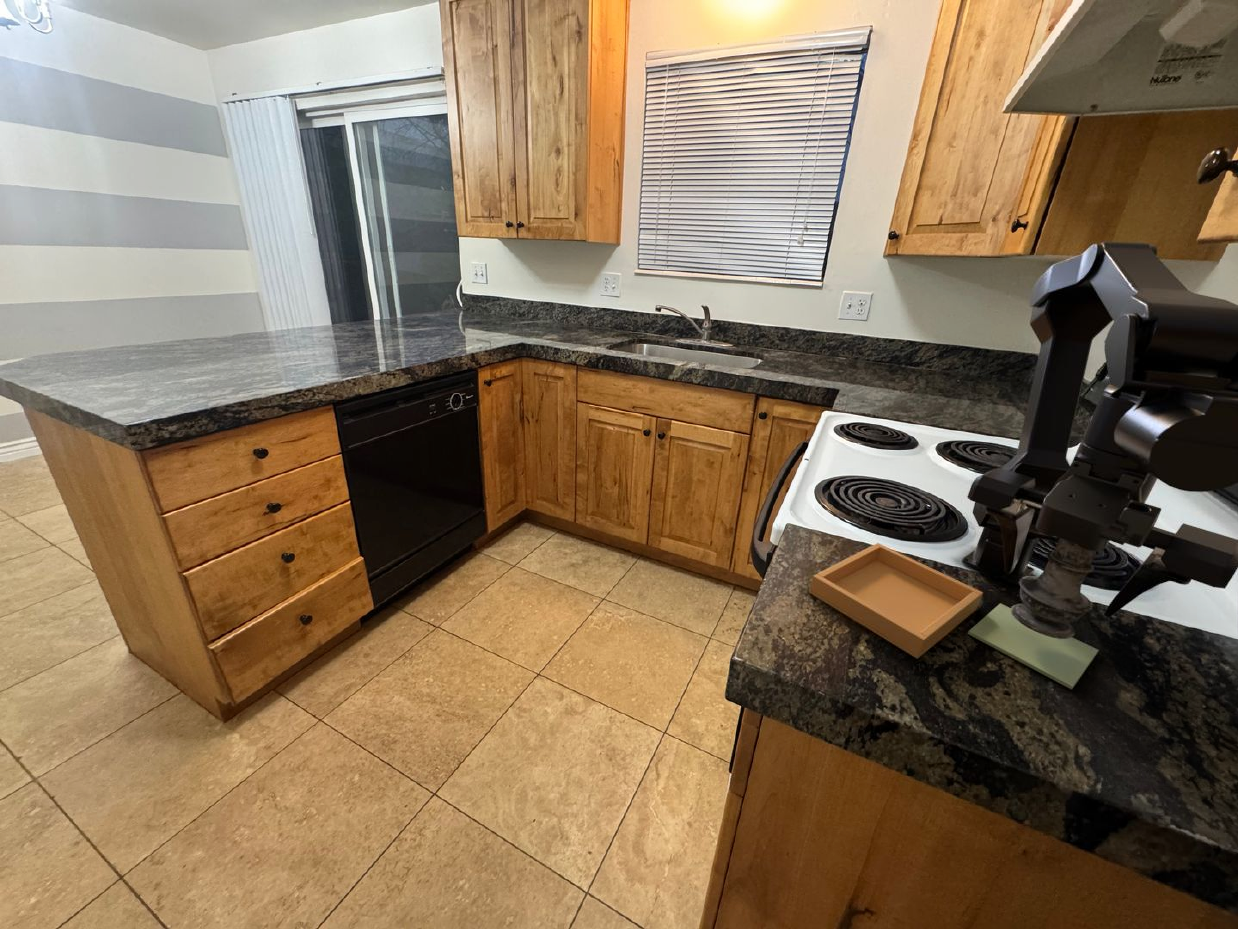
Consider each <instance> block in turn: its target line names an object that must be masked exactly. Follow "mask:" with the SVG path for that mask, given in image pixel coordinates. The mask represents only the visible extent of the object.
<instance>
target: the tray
mask: <svg viewBox="0 0 1238 929" xmlns="http://www.w3.org/2000/svg"><path fill="white" fill-rule="evenodd" d="M808 590H809V591H808V593H809V594H811V595H813V596H814V597H816V598H817V599H819V600H820V601H822V602H824V603H825V604H827V605H829V606H830V607H832V608H834V610H837V611H839V612H840V613H841V614H844V615H845V616H846V617H848V618H850V619H852V620H853V621H855V622H856V623H858V624H860V625H861V626H863V627H864V628H866V629H868V630H869V631H871V632H873V633H874V634H876V635H878V637H881V638H883V639H884V640H886V641H887V642H889V643H891V644H892V645H894V646H896V647H897V648H899V649H901V650H902V651H903V652H905V653H907V654H908V655H910V656H911V657H914V658H915V659H919V658H920V657H921V656H923V655H924V654H925V653H926V652H928V651H929V650H930V649H931V648H932V647H933V646H935V645H936V644H937V643H938V642H939V641H941V640H942V639H943V638H944V637H945V636H946V635H948V634H949V633H950V632H952V631H953V630H954V629H955V628H957V627H958V625H960V624H961V623H962V622H963V621H965V620H966V619H967V618H968V617H970V616H971V615H972V614H973V613H975V611H977V610H978V608H979V605H980V602H981V600H982V597H983V595H984V592H983V591H981V590H980V589H979V590H978V589H977V588H975V587H972V586H971V585H968V584H966V583H963V582H962V581H959V580H957V579H956V578H953V577H951V576H949V575H947V574H945V573H942V572H940V571H939V570H936V569H934V568H932V567H930V566H928V565H926V564H923V563H921V562H919V561H917V560H915V559H914V558H911V557H909V556H907V555H904V554H902V553H900V552H898V551H896V550H895V549H892V548H890V547H888V546H885V545H883V544H881V543H879V542H877V543H875V544H872V545H870V546H869V547H866V548H865V549H863V550H861V551H859V552H857V553H855V554H852V555H851V556H849V557H847V558H845V559H843V560H841V561H840V562H839V561H838V562H837V563H835V564H833V565H832V566H830V567H827V568H826V569H824V570H822V571H820V572H818V573H816V574H814V575H812V579H811V583H810V586H809V589H808Z"/></svg>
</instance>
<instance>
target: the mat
mask: <svg viewBox="0 0 1238 929" xmlns="http://www.w3.org/2000/svg"><path fill="white" fill-rule="evenodd" d="M1011 608H1012V607H1009V606H1008V605H1005V604H1003V603H999V604H998V605H997V606H995V607H994V608H993V609H992V610H991V611H990V612H988V614H986V615H985V616H984V617H983V618H982V619H980V620H979V621H978V622H977V623H976V624H975V625H974V626H973V627H971V628H970V629H969V630H968V631H967V635H969V636H971V637H973V638H975V639H976V640H978V641H980V642H981V643H984V644H986V645H988V646H989V647H991V648H993V649H995V650H997V651H998V652H1001V653H1002V654H1004V655H1006V656H1007V657H1010V658H1012V659H1014V660H1015V661H1018V663H1021V664H1023V665H1024V666H1027V667H1028V668H1030V669H1032V670H1034V671H1036V672H1037V673H1040V674H1042V675H1044V676H1045V677H1047V678H1049V679H1051V680H1053V681H1055V682H1057V683H1058V684H1060V685H1062V686H1064V687H1066V688H1067V689H1070V690H1073V688H1074V687H1075V685H1076V684H1077V683H1078V682H1079V680H1080V678H1082V676H1083V674H1085V671H1086V670H1087V668H1088V667H1089V666H1090V664H1091V663H1092V661H1093V660H1094V658H1095V657H1096V656H1097V654H1098V653H1099V649H1097V648H1095V647H1093V646H1091V645H1089V644H1087V643H1085V642H1083V641H1080V640H1079V639H1076V638H1075V637H1072V638H1068V639H1059V638H1053V637H1049V636H1046V635H1043V634H1040V633H1038V632H1035V631H1033V630H1031V629H1029V628H1028V627H1026V626H1024V625H1023V624H1021V623H1020V622H1019V621H1018V620H1016V619H1015V617H1014V616H1013V615H1012V613H1011Z"/></svg>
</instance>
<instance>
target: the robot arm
mask: <svg viewBox="0 0 1238 929" xmlns="http://www.w3.org/2000/svg"><path fill="white" fill-rule="evenodd" d="M1157 255H1158V248H1157V246H1156V245H1150V243H1149V242H1141V241H1140V242H1139V241H1137V242H1136V241H1134V242H1133V241H1112V240H1111V241H1110V240H1109V241H1107V240H1104V241H1102V242H1100V243H1093V244H1091V245H1090V246H1089V247H1088V248H1087V249H1086V250H1085V251H1084V252H1082V253H1081V254H1078V255H1074V256H1073V257H1069V258H1067V259H1065V260H1061V261H1058V262H1056V263H1054V264H1052V265H1051V266H1050V267H1049V268H1047V270H1045V272H1044V273H1043V274H1042V275H1041V276H1040V277H1039V278H1038V279H1037V281H1036V282H1035V283H1034V286H1033V287H1032V290H1031V293H1030V297H1029V302H1028V304H1029V307H1030V308H1032V309H1031V315H1030V319H1029V326H1030V328H1031V329H1032V331H1033V332H1034V334H1035V336H1036V338H1037V340H1038V341H1039V343H1040V348H1039V352H1038V357H1037V363H1036V366H1035V371H1034V375H1033V380H1032V383H1031V388H1030V393H1029V397H1028V402H1027V405H1026V406H1027V407H1026V411H1025V416H1024V419H1023V424H1022V429H1021V433H1020V436H1019V437H1020V438H1019V442H1018V445H1017V446H1018V447H1017V451H1016V454H1015V455H1014V456H1013V457H1012V458H1011V459H1010V460H1009V461H1008V462H1007V463H1006V464H1004V465H1003V466H1002V467H996V468H994V469H991V470H989V471H987V472H985V473H982V474H981V475H979V476H977V477H975V478H974V480H973V481H972V482H971V486H970V488H969V491H968V493H967V496H966V497H967V499H969V501H971V502H974V505H973V508H972V515H973V517H974V519H975V521H976V523H977V526H978V527H980V528H983V529H982V531H981V534H980V536H979V539H978V541H977V544H976V547H975V549H974V550H972V552H970V553H968V554H967V555H965V556H964V557H962V559H961V563H962V564H964V565H966V566H969V567H970V568H973V569H975V570H977V571H980V572H982V573H984V574H986V575H989V576H990V577H993V578H996V579H997V580H1000V581H1002V582H1004V583H1007V584H1009V585H1012V586H1015V587H1018V586H1020V584H1019V581H1020V579H1021V578H1023V577H1026V576H1032V574H1033V573H1034V571H1035V568H1034V567H1032V566H1030V565H1029V563H1030V561H1031V559H1032V557H1033V554H1034V552H1035V549H1036V548H1037V545H1038V543H1039V540H1043V541H1048V542H1051V543H1054V544H1058V542H1059V539H1060V538H1061V539H1064V540H1067V541H1069V542H1072V543H1075V544H1077V545H1078V546H1079V547H1081V548H1083V549H1086V550H1090V551H1097V552H1100V551H1103V550H1105V549H1106V548H1107V546H1108V544H1109V543H1110V542H1112V543H1116V544H1119V545H1122V546H1124V545H1125V544H1126V545H1129V546H1133V547H1136V548H1138V549H1139V548H1142V547H1144V548H1147V549H1151V550H1152V551H1151V552H1150V553H1149V555H1148V556H1147V557H1146V559H1145V560H1144V561H1143V562H1142V563H1141V565H1140V566H1139V567H1138V568H1137V569H1136V571H1135V572H1134V573H1133V574H1132V576H1131V577H1130V578H1129V579H1128V580H1127V581H1126V582H1125V584H1124V585H1123V586H1122V588H1121V589H1120V590H1119V591H1118V592H1117V593H1116V595H1115V596H1114V598H1113V599H1112V600H1111V602H1110V603H1109V605H1108V606H1107V608H1106V610H1105V612H1104V614H1103V615H1104V616H1105V617H1107V618H1110V617H1112V616H1113V615H1115V614H1116V613H1117V612H1119V611H1120V610H1121V609H1123V608H1124V607H1125V606H1127V605H1129V604H1130V603H1131V602H1132V601H1134V600H1135V599H1136V598H1138V597H1139V596H1140V595H1142V594H1144V593H1145V592H1147V591H1149V590H1151V589H1153V588H1156V587H1157V586H1159V585H1162V584H1165V583H1168V582H1172V583H1176V584H1178V585H1183V586H1186V585H1189V584H1190V583H1191V582H1192V580H1193V581H1195V582H1198V583H1201V584H1203V585H1207V586H1209V587H1211V588H1215V589H1226V588H1227V586H1228V585H1229V584H1230V582H1231V580H1232V579H1233V577H1234V575H1235V574H1236V572H1237V571H1238V539H1237V538H1234V537H1230V536H1227V535H1223V534H1220V533H1218V532H1214V531H1210V530H1208V529H1203V528H1201V527H1197V526H1193V525H1191V524H1187V523H1182V524H1181V525H1180V526H1179V527H1178V530H1177V531H1176V532H1172V531H1169V530H1166V529H1162V528H1159V527H1156V526H1155V525H1156V523H1157V521H1158V519H1159V517H1160V514H1161V512H1162V508H1161V507H1158V506H1155V505H1152V504H1148V503H1146V502H1147V500H1148V498H1149V496H1150V494H1151V492H1152V490H1153V488H1154V487H1155V484H1156V482H1157V480H1159V481H1160V482H1162V483H1163V484H1165V485H1167V486H1168V487H1171V488H1174V489H1177V490H1179V491H1183V492H1184V491H1185V492H1190V493H1191V492H1192V493H1193V492H1194V493H1197V492H1198V493H1207V492H1213V491H1219V490H1222V489H1226V488H1229V487H1232V486H1234V485H1237V484H1238V304H1236V303H1234V302H1231V301H1229V300H1227V299H1225V298H1223V299H1222V298H1218V297H1215V296H1209V295H1204V294H1200V293H1195V292H1193V291H1191V290H1189V289H1188V288H1187V287H1186V286H1185V285H1184V284H1183V283H1182V281H1180V279H1179V278H1177V276H1176V275H1175V274H1174V273H1173V272H1172V271H1171V270H1170V269H1169V268H1168V267H1167V265H1165V263H1164V262H1163V261H1161V259H1160V258H1159V257H1158V256H1157ZM1112 322H1113V323H1112ZM1111 323H1112V324H1111ZM1110 324H1111V326H1110V328H1109V330H1108V331H1107V335H1106V337H1105V339H1104V347H1103V348H1104V357H1105V363H1106V368H1107V369H1106V370H1107V377H1105V378H1104V379H1102V380H1101V382H1100V386H1101V388H1103V392H1102V393H1101V396H1100V398H1099V400H1098V402H1097V404H1096V407H1095V409H1094V411H1093V414H1092V415H1091V417H1090V420H1089V423H1088V425H1087V427H1086V429H1085V432H1084V434H1083V436H1082V439H1081V441H1080V443H1079V446H1078V448H1077V450H1076V452H1075V455H1074V457H1073V459H1072V461H1071V463H1070V462H1069V461H1068V459H1067V455H1068V450H1069V446H1070V441H1071V437H1072V433H1073V428H1074V423H1075V419H1076V414H1077V410H1078V407H1079V406H1078V405H1079V402H1080V397H1081V392H1082V387H1083V384H1084V380H1085V375H1086V369H1087V365H1088V361H1089V356H1090V351H1091V348H1092V344H1093V341H1094V339H1095V338H1096V337H1097V336H1098V335H1099V334H1100V333H1101V332H1102V331H1103V330H1104V329H1106V328H1107V326H1109V325H1110Z"/></svg>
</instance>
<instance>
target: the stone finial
mask: <svg viewBox="0 0 1238 929" xmlns="http://www.w3.org/2000/svg"><path fill="white" fill-rule="evenodd" d="M1097 552H1098V551H1090V550H1086V549H1083V548H1081V547H1079V546H1078V545H1077V544H1075V543H1072V542H1069V541H1067V540H1064V539H1061V538H1060V539H1059V542H1058V543H1056V546H1055V548H1054V550H1052V551H1049V552H1048V553H1047V554H1046V557H1047V559H1048V560H1047V563H1046V566H1045V568H1044V570H1043V571H1042V572H1041V574H1040V575H1039V576H1038V575H1037V576H1036V575H1030V576H1026V577H1023V578H1021V579H1020V581H1019V586H1020V589H1019V596H1020V600H1021V602H1022V603H1017V604H1016V603H1015V604H1014V605H1012V606H1011V607H1010V608H1011V613H1012V615H1013V616H1014V617H1015V619H1016V620H1018V621H1019V622H1020V623H1021V624H1023V625H1024V626H1026V627H1028V628H1029V629H1031V630H1033V631H1035V632H1038V633H1040V634H1043V635H1046V636H1049V637H1053V638H1059V639H1068V638H1074V636H1075V629H1074V627H1073V626H1072V625H1071V624H1070V623H1073V622H1076V621H1077V620H1079V619H1081V618H1082V617H1083V616H1084V615H1085V614H1086V613H1089V612H1091V611H1092V610H1093V603H1092V601H1091V600H1090V599H1089V598H1088V597H1087V596H1086V595H1085V594H1083V593H1082V592H1081V589H1082V585H1083V582H1084V581H1085V579H1086V577H1087V575H1088V573H1092V572H1093V571H1095V569H1094V568H1095V567H1094V566H1093V565H1092V562H1093V560H1094V559H1095V556H1096V554H1097Z"/></svg>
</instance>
